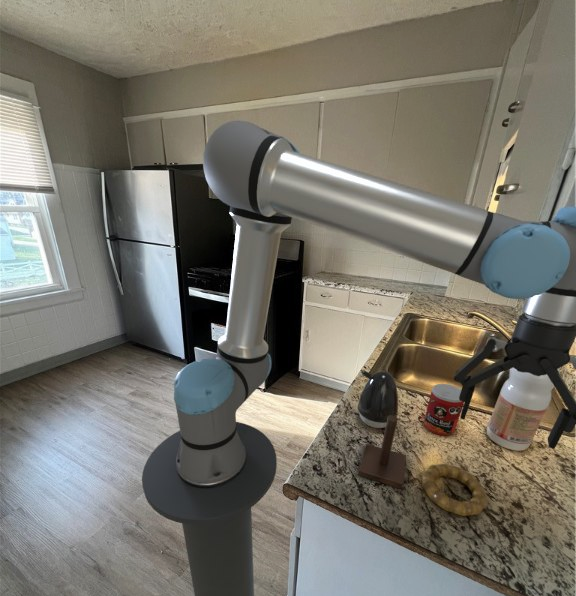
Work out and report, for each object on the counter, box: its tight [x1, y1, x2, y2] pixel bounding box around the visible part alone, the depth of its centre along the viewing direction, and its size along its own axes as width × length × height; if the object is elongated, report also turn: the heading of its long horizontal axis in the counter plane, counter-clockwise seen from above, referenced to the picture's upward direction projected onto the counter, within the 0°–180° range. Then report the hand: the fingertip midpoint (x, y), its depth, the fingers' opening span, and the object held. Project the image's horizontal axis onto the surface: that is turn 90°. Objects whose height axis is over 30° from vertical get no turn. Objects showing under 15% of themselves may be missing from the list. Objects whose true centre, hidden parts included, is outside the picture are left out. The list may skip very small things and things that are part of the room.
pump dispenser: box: [357, 369, 399, 429], centre depth 81 cm, size 10×10×15 cm
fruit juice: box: [486, 368, 561, 452], centre depth 74 cm, size 9×9×28 cm
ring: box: [421, 463, 488, 517], centre depth 64 cm, size 12×12×2 cm
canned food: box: [423, 383, 465, 436], centre depth 81 cm, size 8×8×11 cm
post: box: [358, 415, 407, 490], centre depth 67 cm, size 9×9×14 cm
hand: (504, 429), depth 57 cm, fingers open, 13 cm apart
